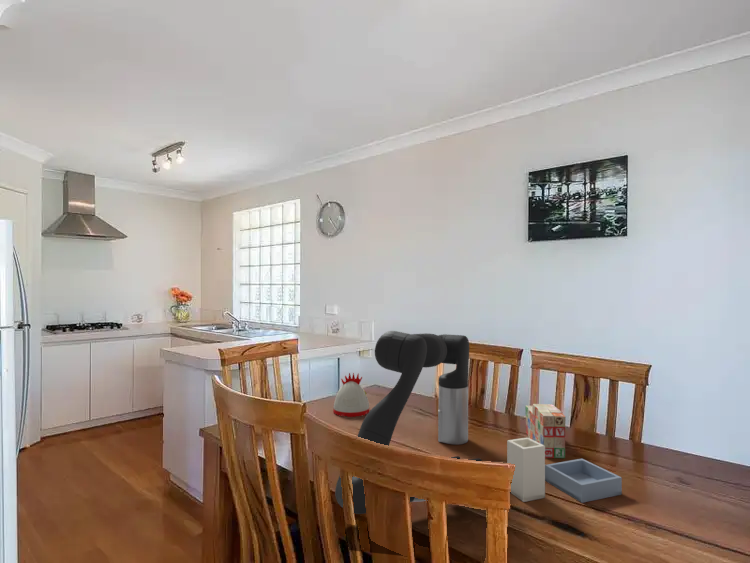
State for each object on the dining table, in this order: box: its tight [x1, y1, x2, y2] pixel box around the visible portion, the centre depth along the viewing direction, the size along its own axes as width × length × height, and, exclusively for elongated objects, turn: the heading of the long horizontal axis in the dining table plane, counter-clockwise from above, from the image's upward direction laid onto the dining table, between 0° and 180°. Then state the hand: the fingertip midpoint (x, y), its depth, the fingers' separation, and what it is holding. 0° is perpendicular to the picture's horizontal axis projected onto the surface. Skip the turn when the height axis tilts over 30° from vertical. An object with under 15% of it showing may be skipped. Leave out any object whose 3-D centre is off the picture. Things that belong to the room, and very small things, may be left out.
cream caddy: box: [506, 436, 546, 503], centre depth 105 cm, size 6×6×12 cm
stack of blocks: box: [524, 403, 567, 459], centre depth 138 cm, size 21×6×12 cm, turn 174°
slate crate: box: [545, 458, 623, 503], centre depth 109 cm, size 12×12×4 cm
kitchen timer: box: [332, 372, 370, 418], centre depth 173 cm, size 14×14×15 cm
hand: (491, 470), depth 102 cm, fingers open, 8 cm apart
